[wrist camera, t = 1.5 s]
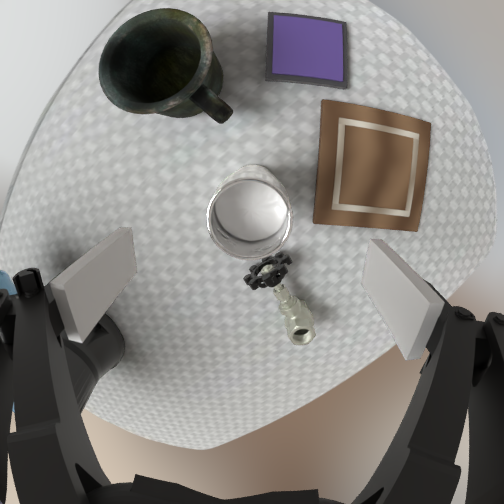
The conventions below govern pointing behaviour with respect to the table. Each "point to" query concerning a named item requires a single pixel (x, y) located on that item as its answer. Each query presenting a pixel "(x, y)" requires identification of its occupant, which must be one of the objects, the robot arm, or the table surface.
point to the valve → (284, 298)
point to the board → (370, 167)
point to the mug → (163, 67)
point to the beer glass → (250, 214)
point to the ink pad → (306, 50)
